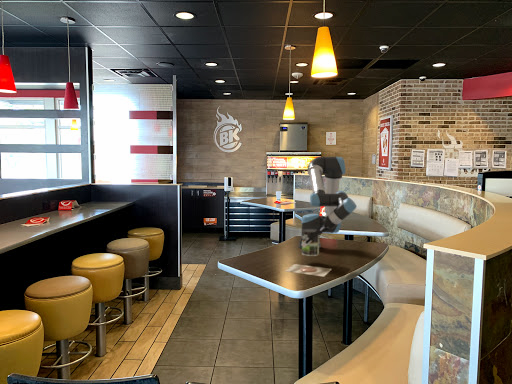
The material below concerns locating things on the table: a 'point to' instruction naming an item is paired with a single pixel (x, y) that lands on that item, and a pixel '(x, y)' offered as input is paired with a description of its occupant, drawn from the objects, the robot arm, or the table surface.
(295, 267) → the birch board
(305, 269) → the terracotta coaster
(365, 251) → the table surface
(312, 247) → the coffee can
